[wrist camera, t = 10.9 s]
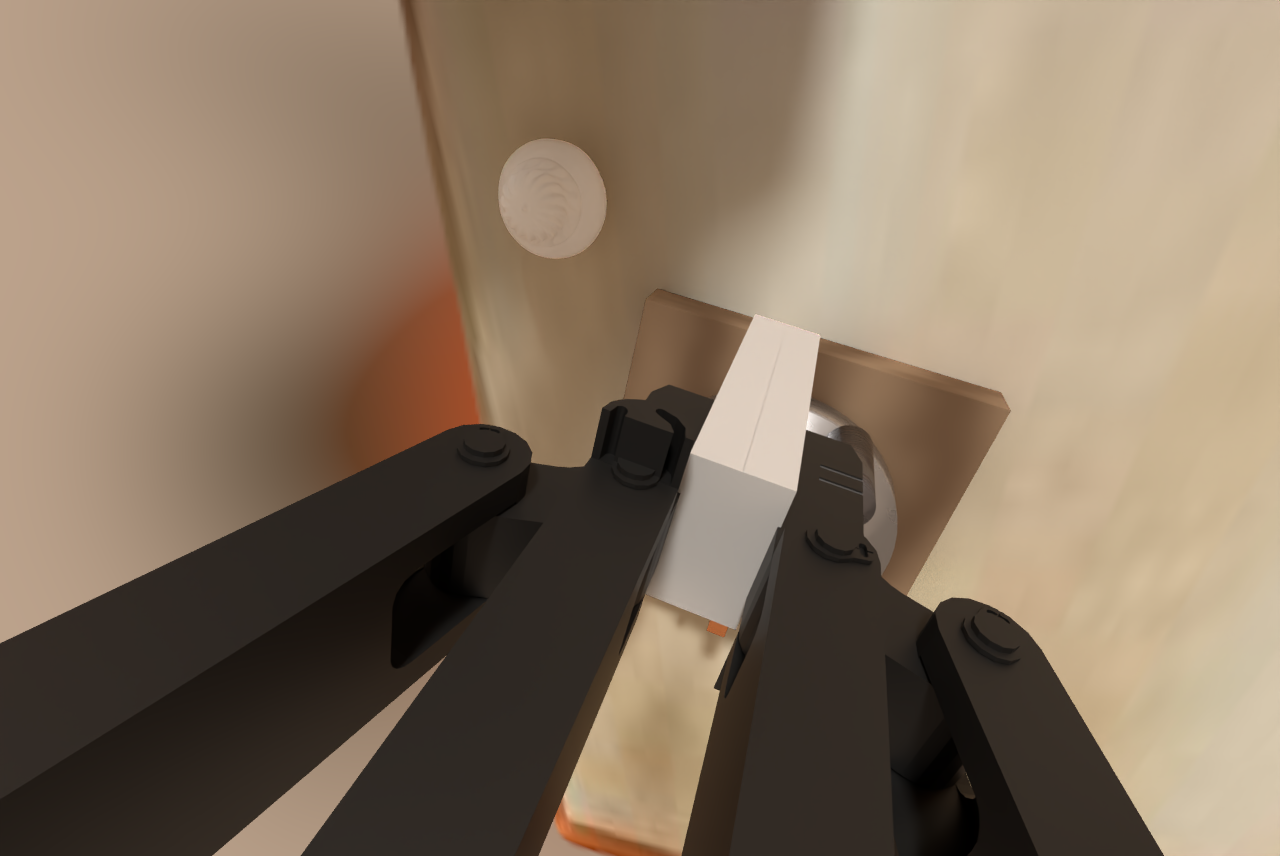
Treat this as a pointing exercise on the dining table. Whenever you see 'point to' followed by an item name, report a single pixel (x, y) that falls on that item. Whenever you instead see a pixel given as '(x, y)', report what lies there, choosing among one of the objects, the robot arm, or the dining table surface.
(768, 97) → the dining table surface
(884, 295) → the dining table surface
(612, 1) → the dining table surface
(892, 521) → the capstan
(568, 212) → the muffin
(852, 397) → the stand
